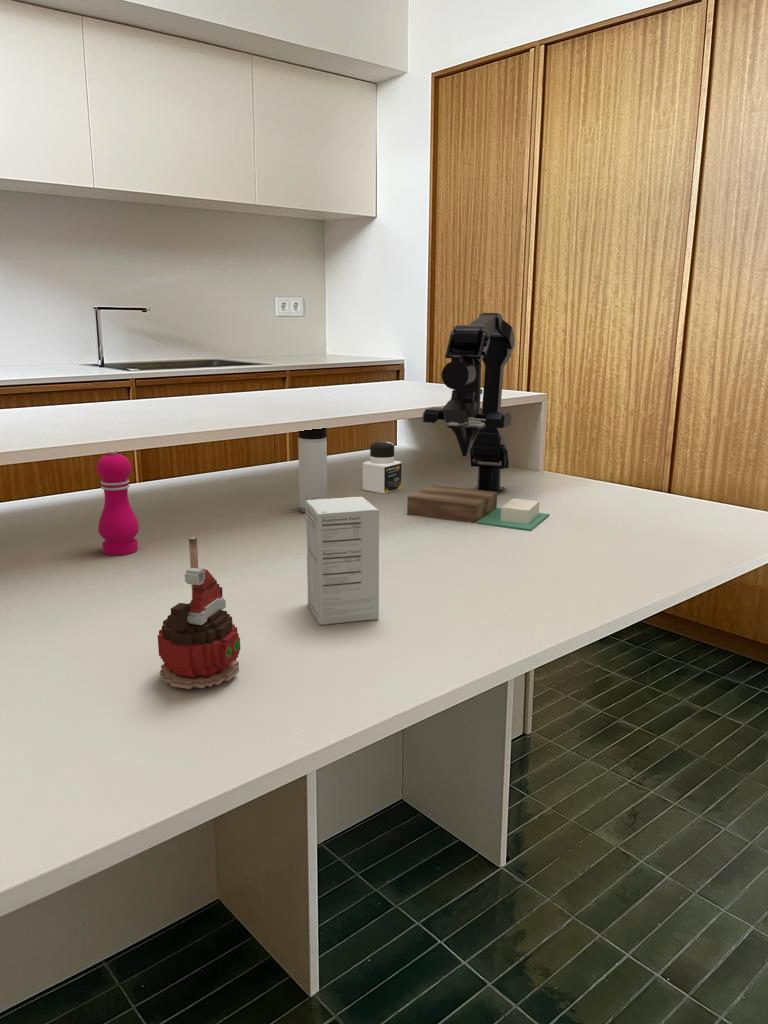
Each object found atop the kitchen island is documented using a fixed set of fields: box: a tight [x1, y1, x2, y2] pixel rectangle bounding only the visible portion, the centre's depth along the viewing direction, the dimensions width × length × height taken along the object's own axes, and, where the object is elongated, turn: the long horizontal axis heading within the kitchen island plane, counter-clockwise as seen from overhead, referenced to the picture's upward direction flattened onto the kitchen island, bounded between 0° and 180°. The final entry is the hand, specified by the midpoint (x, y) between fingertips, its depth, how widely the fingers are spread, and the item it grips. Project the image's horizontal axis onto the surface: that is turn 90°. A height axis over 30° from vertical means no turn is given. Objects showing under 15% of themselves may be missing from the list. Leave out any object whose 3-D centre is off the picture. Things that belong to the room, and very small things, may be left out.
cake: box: [157, 536, 241, 690], centre depth 97 cm, size 11×9×18 cm
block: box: [500, 498, 540, 524], centre depth 173 cm, size 9×6×3 cm, turn 155°
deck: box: [406, 484, 498, 524], centre depth 179 cm, size 14×16×4 cm
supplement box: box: [305, 496, 380, 626], centre depth 119 cm, size 10×9×17 cm
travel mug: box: [297, 427, 328, 514], centre depth 177 cm, size 6×7×20 cm
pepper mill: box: [96, 451, 140, 556], centre depth 147 cm, size 7×7×20 cm
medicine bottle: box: [362, 441, 403, 495], centre depth 199 cm, size 7×7×12 cm
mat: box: [475, 507, 550, 532], centre depth 173 cm, size 14×12×1 cm
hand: (465, 456), depth 176 cm, fingers closed
